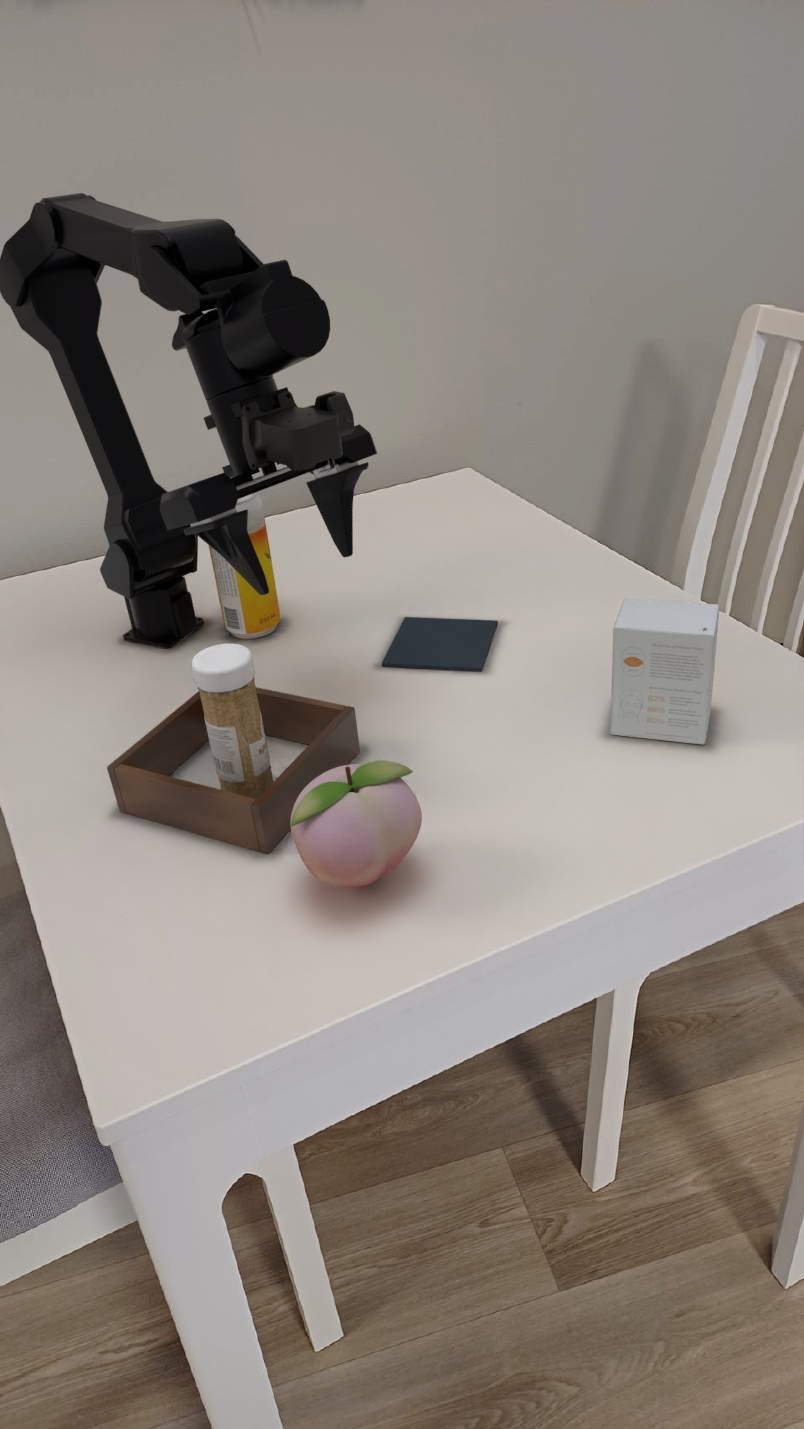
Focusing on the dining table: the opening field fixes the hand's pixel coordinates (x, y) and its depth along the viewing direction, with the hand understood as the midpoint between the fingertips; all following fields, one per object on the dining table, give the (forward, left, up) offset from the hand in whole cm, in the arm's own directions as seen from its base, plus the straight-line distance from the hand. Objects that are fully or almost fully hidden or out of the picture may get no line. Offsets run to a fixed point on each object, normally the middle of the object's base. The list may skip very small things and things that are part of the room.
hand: (307, 574), depth 84 cm
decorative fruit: (+13, -18, -14) cm, 27 cm away
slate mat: (+4, +16, -14) cm, 21 cm away
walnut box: (-2, -11, -14) cm, 18 cm away
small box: (+28, +9, -14) cm, 33 cm away
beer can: (-17, +13, -14) cm, 25 cm away
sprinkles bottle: (0, -13, -14) cm, 20 cm away
